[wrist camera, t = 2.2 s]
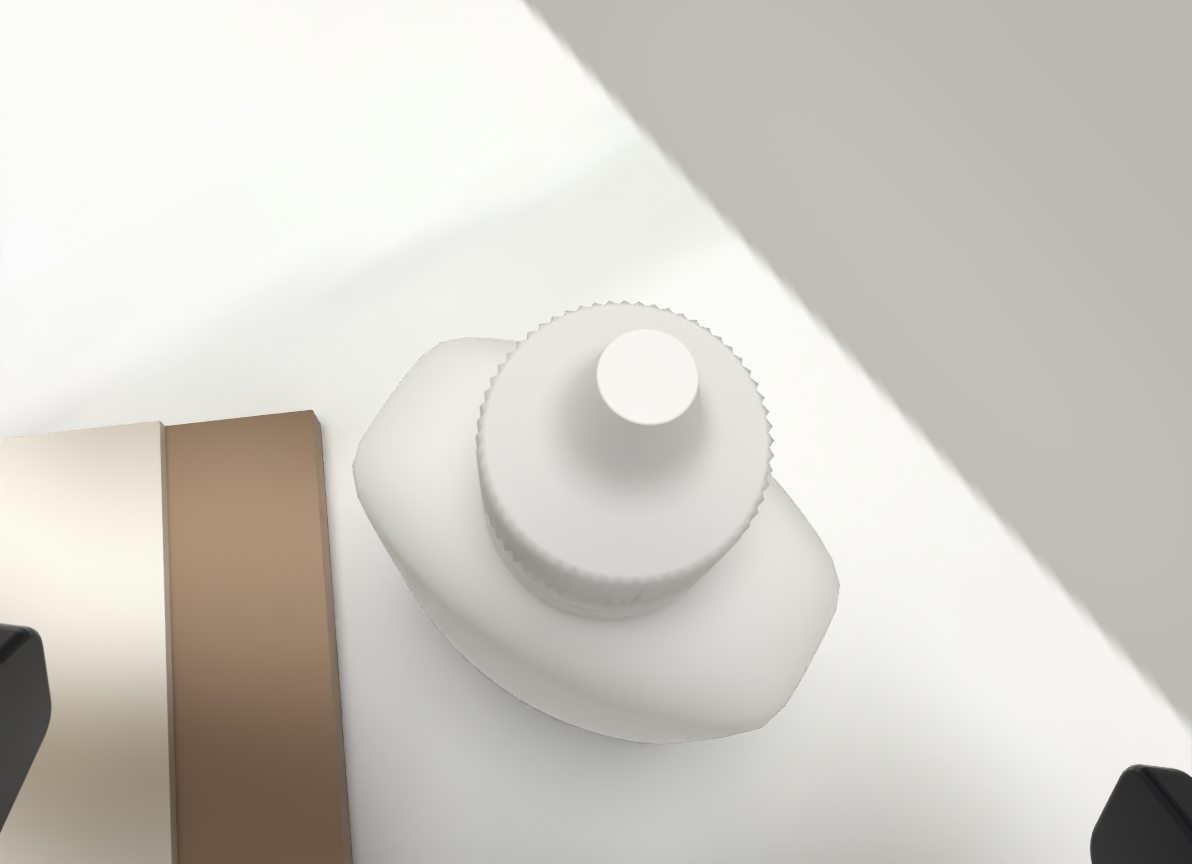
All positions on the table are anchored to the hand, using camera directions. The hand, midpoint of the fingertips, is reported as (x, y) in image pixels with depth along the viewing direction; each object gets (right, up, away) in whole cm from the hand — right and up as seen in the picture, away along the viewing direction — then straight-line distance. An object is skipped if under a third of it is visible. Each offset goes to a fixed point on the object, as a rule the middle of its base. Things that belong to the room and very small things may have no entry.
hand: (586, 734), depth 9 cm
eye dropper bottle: (0, -1, +10) cm, 10 cm away
